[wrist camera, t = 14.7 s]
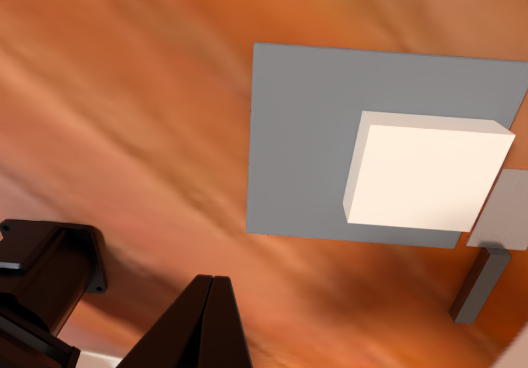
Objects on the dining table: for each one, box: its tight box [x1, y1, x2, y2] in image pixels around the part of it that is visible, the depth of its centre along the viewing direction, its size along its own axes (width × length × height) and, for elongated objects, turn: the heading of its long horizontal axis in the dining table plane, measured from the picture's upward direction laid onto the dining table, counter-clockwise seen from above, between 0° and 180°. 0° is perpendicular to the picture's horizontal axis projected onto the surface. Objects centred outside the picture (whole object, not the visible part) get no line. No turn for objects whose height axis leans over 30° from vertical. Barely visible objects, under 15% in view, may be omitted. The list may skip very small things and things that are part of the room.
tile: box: [343, 111, 515, 232], centre depth 19 cm, size 6×2×7 cm
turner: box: [449, 167, 528, 324], centre depth 24 cm, size 13×4×1 cm, turn 177°
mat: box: [246, 42, 528, 249], centre depth 20 cm, size 12×14×1 cm
